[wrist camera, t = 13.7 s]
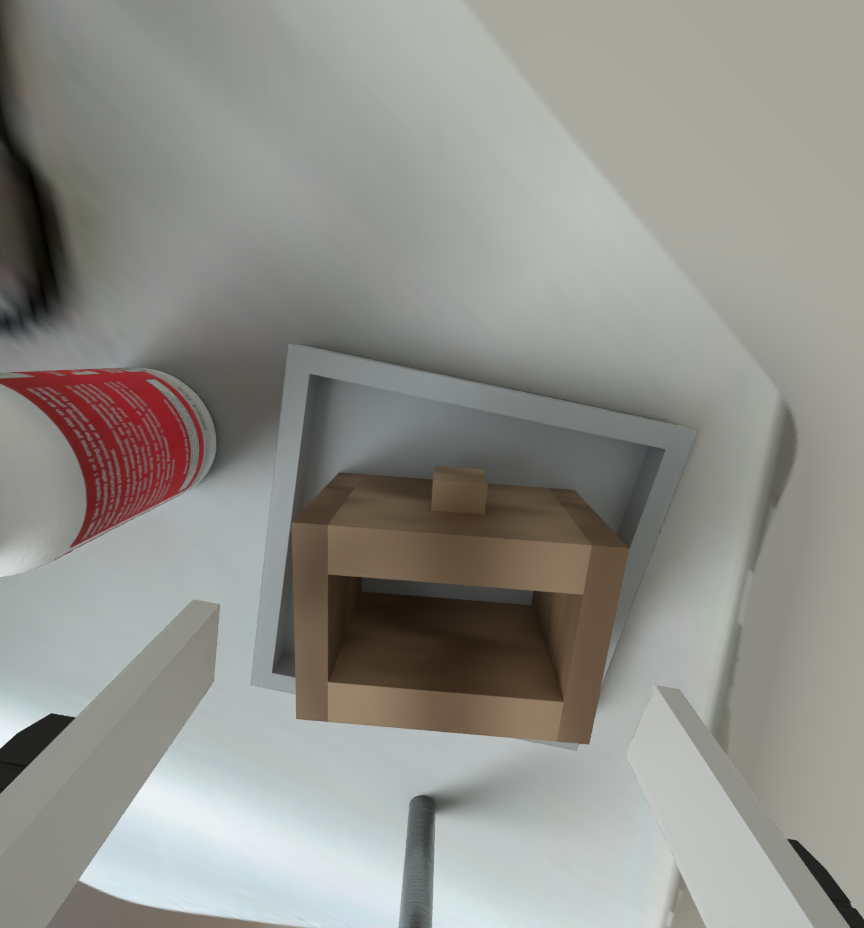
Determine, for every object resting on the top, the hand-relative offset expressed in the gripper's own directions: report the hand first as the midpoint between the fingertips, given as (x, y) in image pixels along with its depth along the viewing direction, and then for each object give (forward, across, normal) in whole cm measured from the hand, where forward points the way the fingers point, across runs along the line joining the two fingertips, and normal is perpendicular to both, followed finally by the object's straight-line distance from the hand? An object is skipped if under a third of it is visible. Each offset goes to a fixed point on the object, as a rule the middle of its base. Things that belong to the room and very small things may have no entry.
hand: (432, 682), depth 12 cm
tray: (+9, +1, 0) cm, 9 cm away
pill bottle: (+9, -14, +3) cm, 17 cm away
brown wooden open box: (+8, +1, 0) cm, 8 cm away
